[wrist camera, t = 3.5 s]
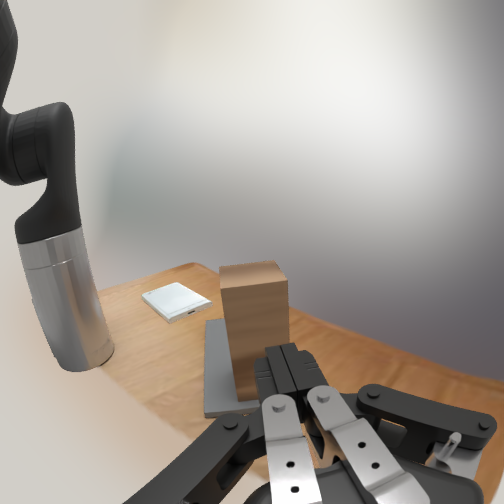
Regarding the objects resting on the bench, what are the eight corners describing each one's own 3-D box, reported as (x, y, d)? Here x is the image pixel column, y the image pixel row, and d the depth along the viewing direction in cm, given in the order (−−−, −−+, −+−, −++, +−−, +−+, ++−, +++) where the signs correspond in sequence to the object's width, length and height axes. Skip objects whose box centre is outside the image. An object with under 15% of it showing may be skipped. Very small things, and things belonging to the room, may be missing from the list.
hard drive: (140, 294, 50) (168, 317, 41) (177, 281, 55) (212, 299, 46) (142, 302, 50) (170, 326, 41) (179, 289, 55) (213, 308, 46)
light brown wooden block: (290, 394, 24) (287, 280, 21) (238, 402, 24) (220, 288, 21) (279, 363, 29) (274, 260, 26) (234, 370, 29) (219, 266, 25)
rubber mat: (310, 402, 24) (310, 397, 24) (205, 417, 23) (204, 412, 23) (274, 316, 41) (274, 312, 41) (206, 325, 40) (205, 320, 40)
